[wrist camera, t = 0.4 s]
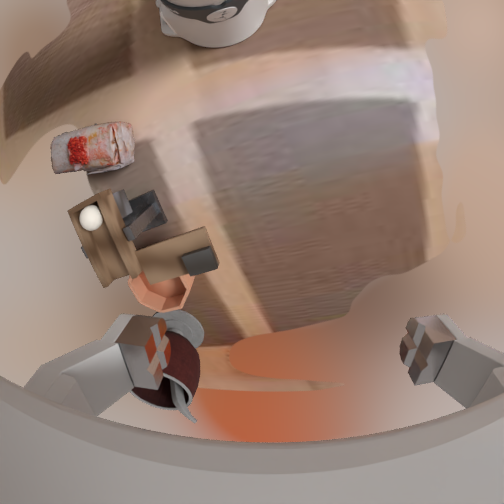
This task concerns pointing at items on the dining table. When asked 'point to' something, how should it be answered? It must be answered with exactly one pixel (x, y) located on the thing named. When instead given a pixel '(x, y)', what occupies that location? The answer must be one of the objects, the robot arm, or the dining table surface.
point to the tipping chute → (145, 259)
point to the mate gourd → (177, 365)
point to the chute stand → (142, 216)
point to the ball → (91, 217)
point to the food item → (94, 148)
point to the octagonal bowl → (161, 292)
